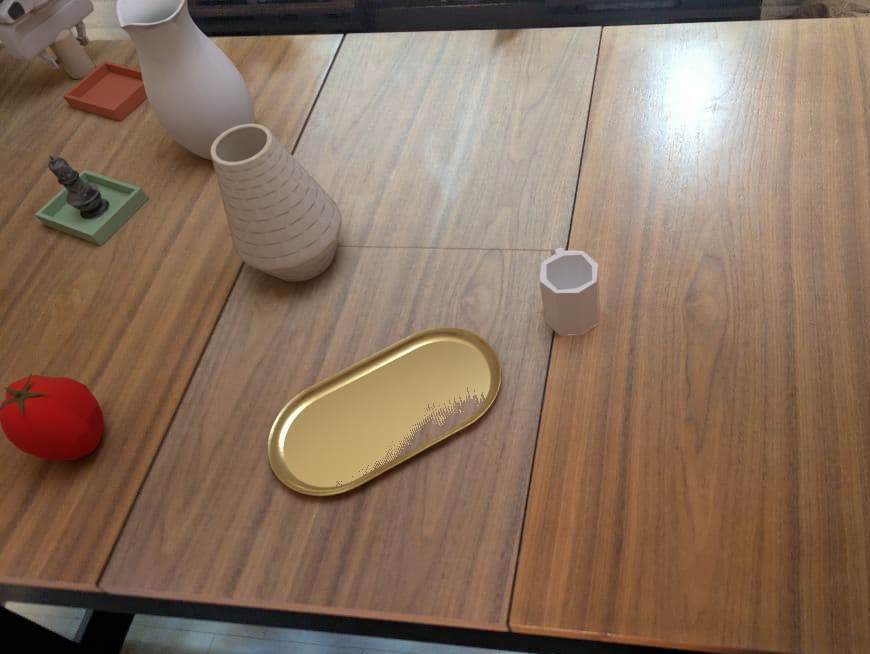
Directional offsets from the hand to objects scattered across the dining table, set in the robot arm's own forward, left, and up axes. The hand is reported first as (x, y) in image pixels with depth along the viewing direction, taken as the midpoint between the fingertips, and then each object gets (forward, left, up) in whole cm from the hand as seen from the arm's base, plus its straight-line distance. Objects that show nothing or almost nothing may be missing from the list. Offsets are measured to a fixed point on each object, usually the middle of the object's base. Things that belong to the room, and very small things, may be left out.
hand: (72, 55), depth 151 cm
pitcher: (+44, -6, -4) cm, 44 cm away
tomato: (+70, -69, -4) cm, 98 cm away
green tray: (+36, -32, -4) cm, 48 cm away
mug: (+126, -20, -4) cm, 128 cm away
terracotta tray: (+14, -4, -4) cm, 15 cm away
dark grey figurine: (+36, -32, -3) cm, 48 cm away
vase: (+80, -27, -4) cm, 84 cm away
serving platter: (+110, -47, -4) cm, 120 cm away
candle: (0, 0, -4) cm, 4 cm away
